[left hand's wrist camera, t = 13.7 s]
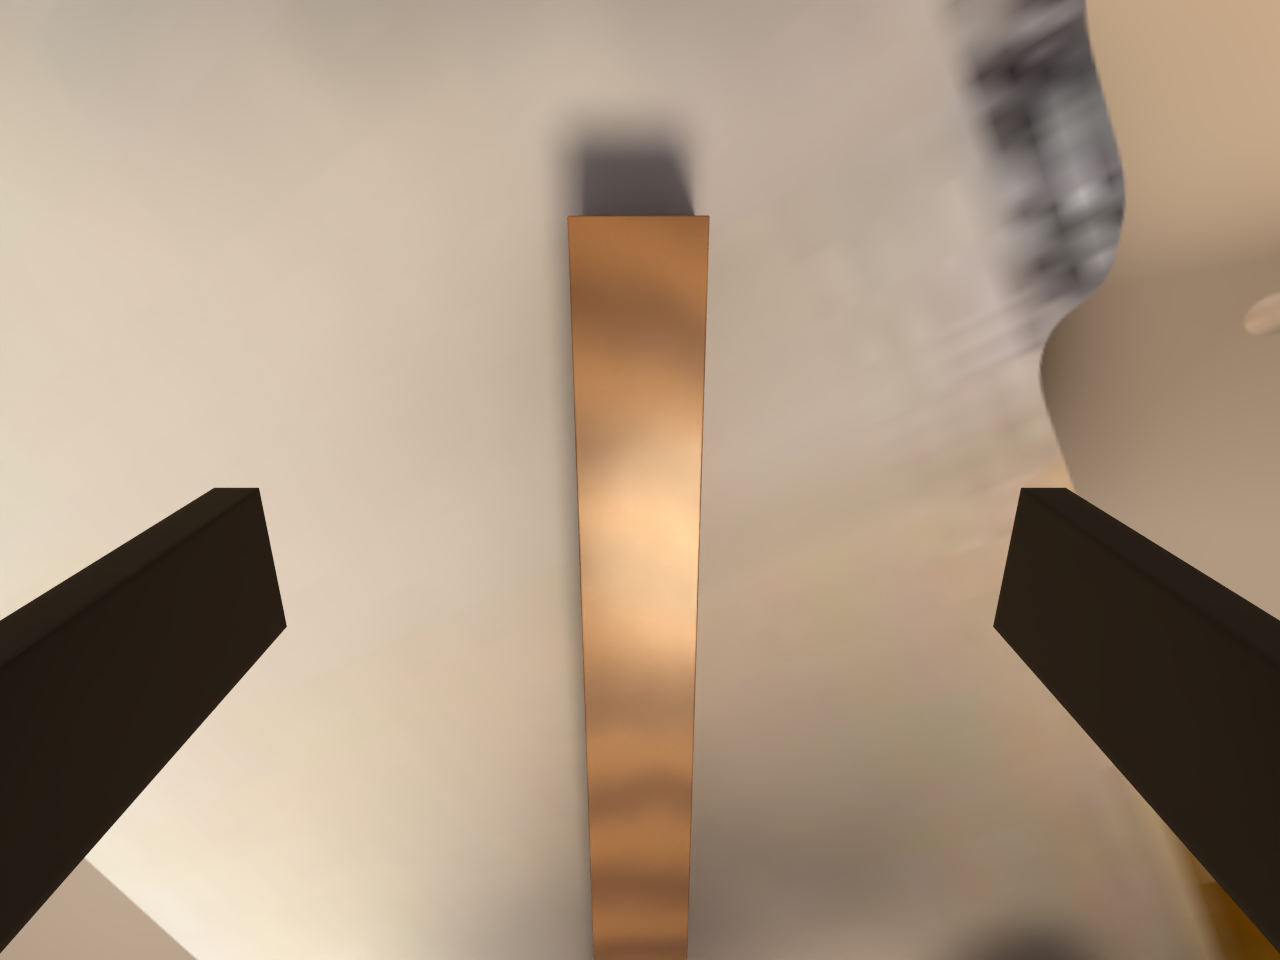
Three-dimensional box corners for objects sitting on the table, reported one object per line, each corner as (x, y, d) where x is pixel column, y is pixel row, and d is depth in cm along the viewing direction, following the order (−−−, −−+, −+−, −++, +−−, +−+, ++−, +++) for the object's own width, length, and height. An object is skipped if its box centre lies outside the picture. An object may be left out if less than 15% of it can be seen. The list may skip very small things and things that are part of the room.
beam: (582, 217, 36) (567, 215, 29) (695, 217, 36) (709, 215, 29) (607, 1112, 62) (603, 1233, 54) (673, 1112, 62) (678, 1233, 54)
